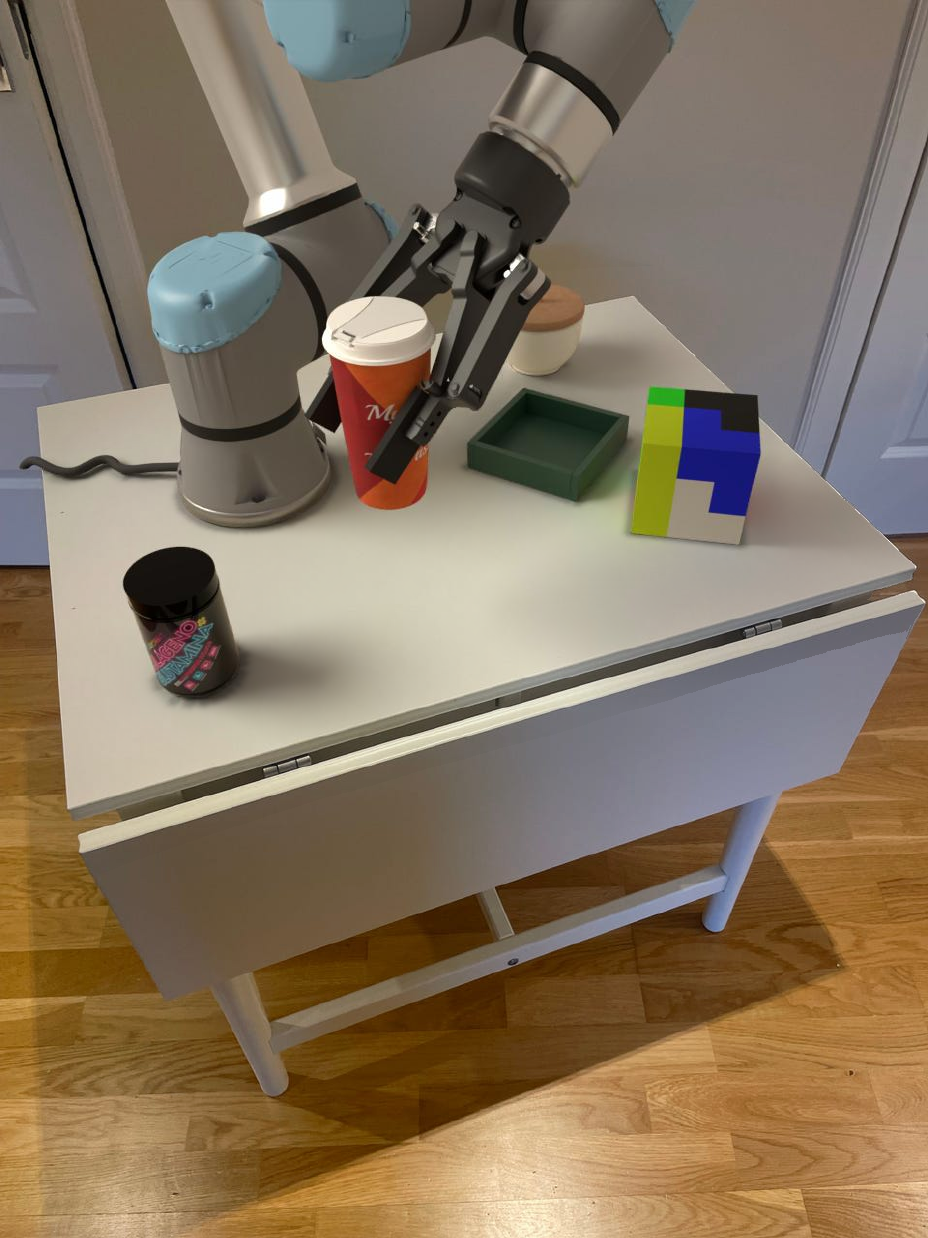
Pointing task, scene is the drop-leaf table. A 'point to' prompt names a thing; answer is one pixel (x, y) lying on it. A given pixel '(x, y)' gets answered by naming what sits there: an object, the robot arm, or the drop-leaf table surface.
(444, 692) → the drop-leaf table surface
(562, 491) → the green square tray
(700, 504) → the puzzle toy
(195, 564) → the supplement container
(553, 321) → the trinket box
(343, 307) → the paper cup
